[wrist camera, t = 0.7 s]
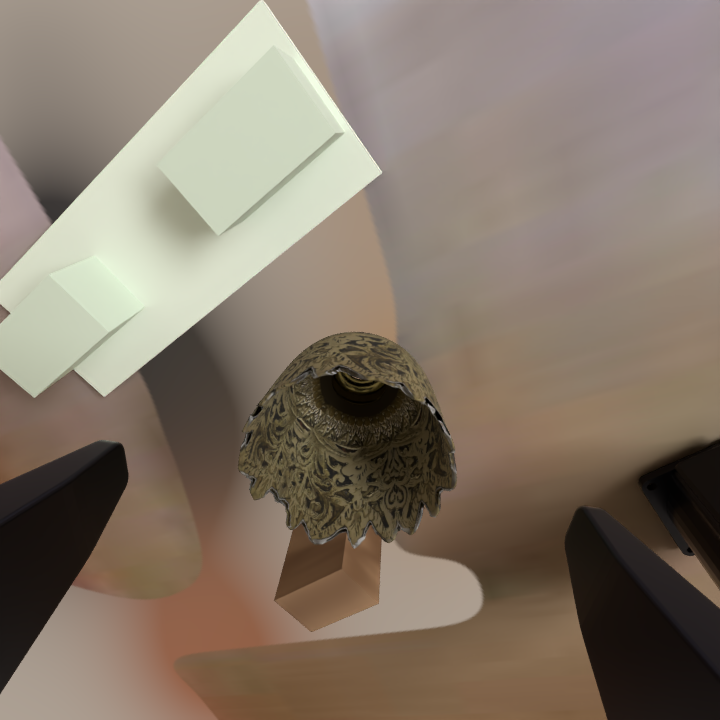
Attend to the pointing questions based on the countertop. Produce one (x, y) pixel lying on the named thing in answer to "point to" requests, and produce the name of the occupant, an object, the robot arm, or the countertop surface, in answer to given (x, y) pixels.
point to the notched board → (183, 214)
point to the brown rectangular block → (329, 578)
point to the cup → (350, 441)
